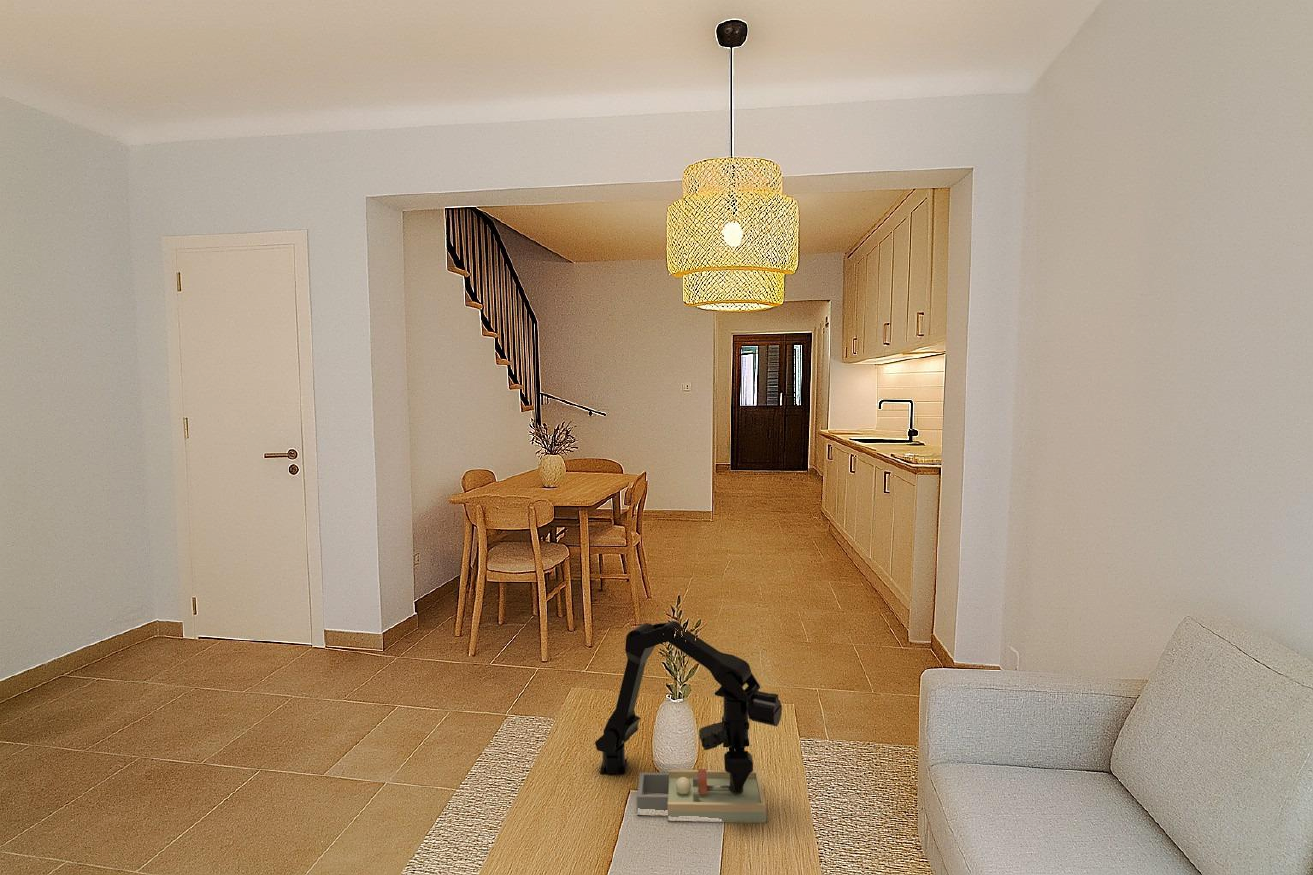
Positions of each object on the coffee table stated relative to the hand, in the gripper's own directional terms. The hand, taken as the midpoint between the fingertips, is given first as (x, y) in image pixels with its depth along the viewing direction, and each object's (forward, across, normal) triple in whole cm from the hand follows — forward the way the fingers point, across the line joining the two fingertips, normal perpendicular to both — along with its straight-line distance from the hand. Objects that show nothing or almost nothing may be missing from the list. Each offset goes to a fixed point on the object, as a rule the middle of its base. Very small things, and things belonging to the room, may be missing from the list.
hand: (736, 780), depth 160 cm
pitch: (+6, 0, -5) cm, 8 cm away
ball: (+1, 0, -12) cm, 12 cm away
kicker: (+3, 0, -4) cm, 4 cm away
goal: (+6, 0, -19) cm, 20 cm away
